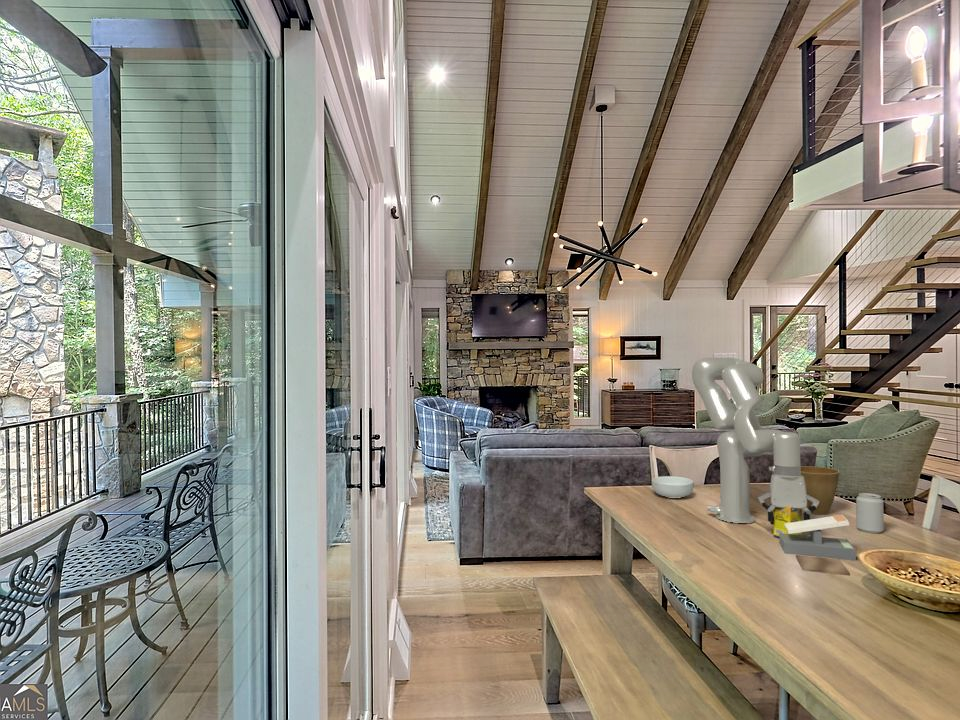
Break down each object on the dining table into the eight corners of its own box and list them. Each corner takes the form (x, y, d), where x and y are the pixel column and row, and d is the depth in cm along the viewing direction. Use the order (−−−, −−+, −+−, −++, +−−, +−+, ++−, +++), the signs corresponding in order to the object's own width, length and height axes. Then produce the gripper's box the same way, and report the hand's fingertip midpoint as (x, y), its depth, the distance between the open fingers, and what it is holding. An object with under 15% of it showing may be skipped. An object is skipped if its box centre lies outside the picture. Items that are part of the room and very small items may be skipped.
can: (888, 534, 183) (888, 497, 183) (862, 533, 185) (862, 496, 185) (876, 528, 191) (876, 492, 191) (852, 526, 192) (852, 491, 192)
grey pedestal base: (784, 553, 166) (784, 530, 166) (779, 542, 176) (779, 521, 176) (855, 560, 160) (855, 536, 160) (846, 549, 169) (846, 526, 169)
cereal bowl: (647, 492, 245) (647, 475, 245) (685, 492, 244) (685, 475, 244) (658, 501, 228) (658, 484, 228) (699, 502, 227) (699, 484, 227)
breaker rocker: (788, 534, 167) (787, 529, 167) (785, 527, 174) (783, 522, 174) (849, 525, 162) (848, 520, 162) (843, 518, 168) (841, 513, 169)
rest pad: (802, 570, 153) (802, 567, 153) (795, 556, 163) (795, 554, 163) (849, 575, 149) (849, 573, 149) (839, 561, 159) (839, 559, 159)
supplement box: (790, 542, 176) (790, 507, 176) (773, 537, 182) (772, 503, 182) (802, 539, 179) (802, 505, 179) (784, 534, 184) (784, 500, 184)
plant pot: (813, 505, 220) (813, 464, 220) (849, 515, 206) (849, 471, 206) (784, 509, 215) (783, 467, 215) (818, 519, 201) (818, 474, 201)
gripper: (758, 471, 180) (759, 525, 179) (820, 474, 174) (822, 530, 173) (755, 468, 187) (757, 520, 186) (815, 470, 181) (817, 524, 180)
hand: (788, 524), depth 180 cm, fingers open, 9 cm apart
